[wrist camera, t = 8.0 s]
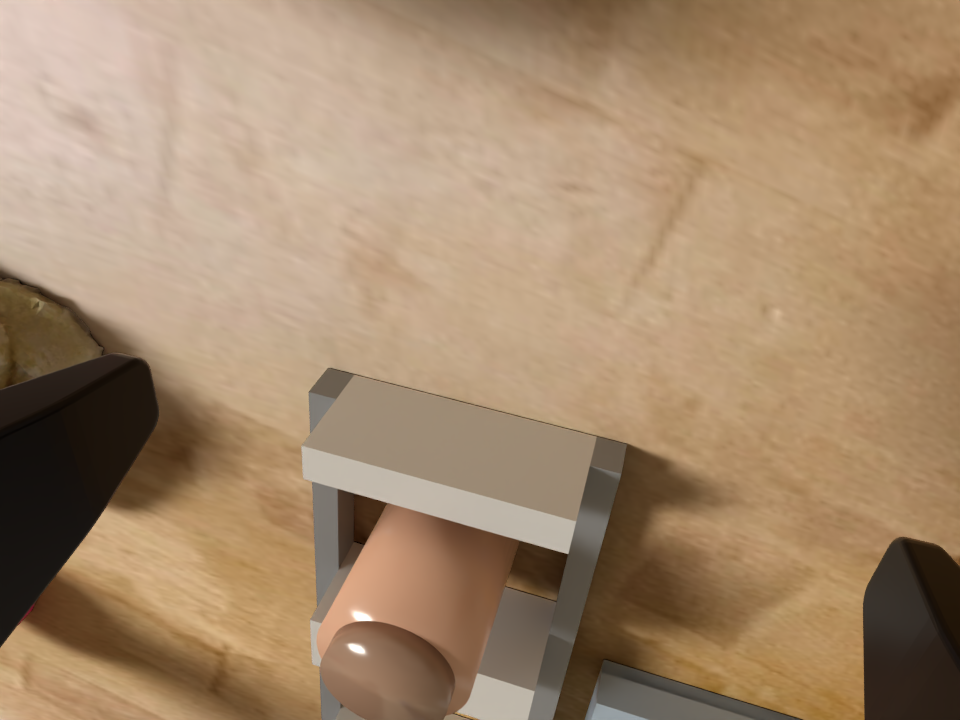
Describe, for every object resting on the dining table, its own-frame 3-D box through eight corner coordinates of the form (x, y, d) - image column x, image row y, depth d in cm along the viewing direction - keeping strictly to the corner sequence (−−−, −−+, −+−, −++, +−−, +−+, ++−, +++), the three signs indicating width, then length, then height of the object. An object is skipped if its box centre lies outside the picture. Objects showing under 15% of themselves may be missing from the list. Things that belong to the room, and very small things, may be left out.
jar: (533, 476, 27) (471, 665, 20) (516, 570, 30) (456, 760, 23) (400, 441, 28) (301, 611, 21) (396, 535, 30) (307, 709, 24)
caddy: (626, 444, 25) (610, 531, 22) (514, 852, 42) (495, 935, 39) (327, 367, 27) (272, 437, 23) (336, 789, 44) (305, 862, 40)
